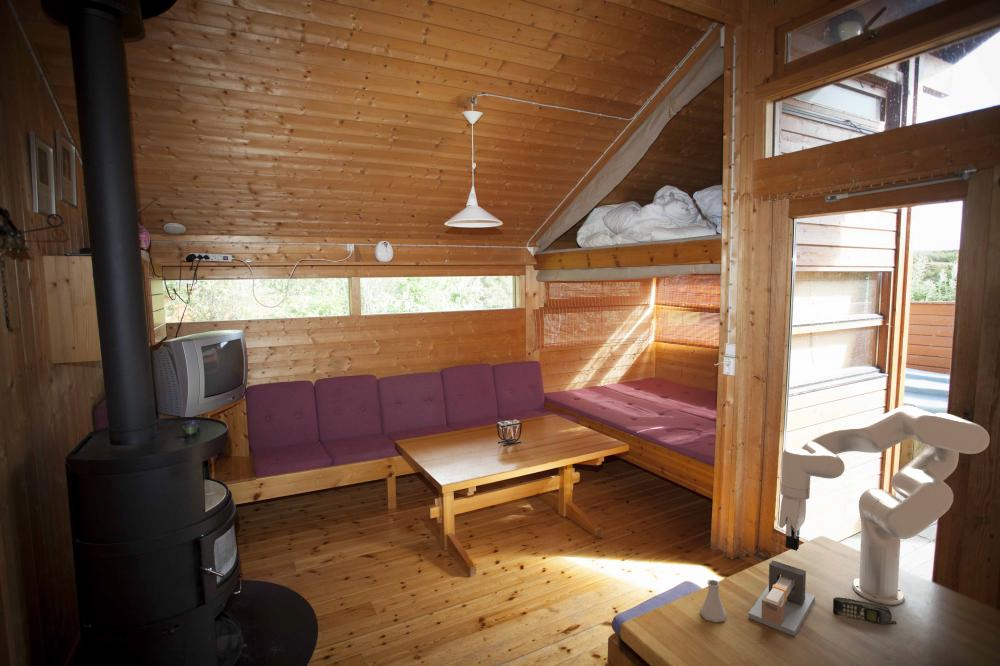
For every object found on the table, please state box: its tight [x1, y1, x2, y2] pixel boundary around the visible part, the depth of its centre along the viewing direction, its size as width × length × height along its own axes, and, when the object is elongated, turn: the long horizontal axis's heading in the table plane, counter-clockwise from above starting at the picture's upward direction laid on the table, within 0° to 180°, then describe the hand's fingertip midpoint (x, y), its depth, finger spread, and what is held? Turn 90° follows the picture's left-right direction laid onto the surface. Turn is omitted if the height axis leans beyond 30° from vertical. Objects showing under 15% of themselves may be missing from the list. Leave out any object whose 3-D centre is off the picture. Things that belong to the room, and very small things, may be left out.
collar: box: [768, 559, 807, 604], centre depth 157 cm, size 3×9×9 cm, turn 46°
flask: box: [699, 579, 728, 623], centre depth 154 cm, size 7×7×10 cm
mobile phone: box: [832, 596, 898, 625], centre depth 150 cm, size 5×3×15 cm
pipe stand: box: [748, 575, 816, 637], centre depth 155 cm, size 20×12×8 cm, turn 136°
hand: (792, 548), depth 161 cm, fingers closed
